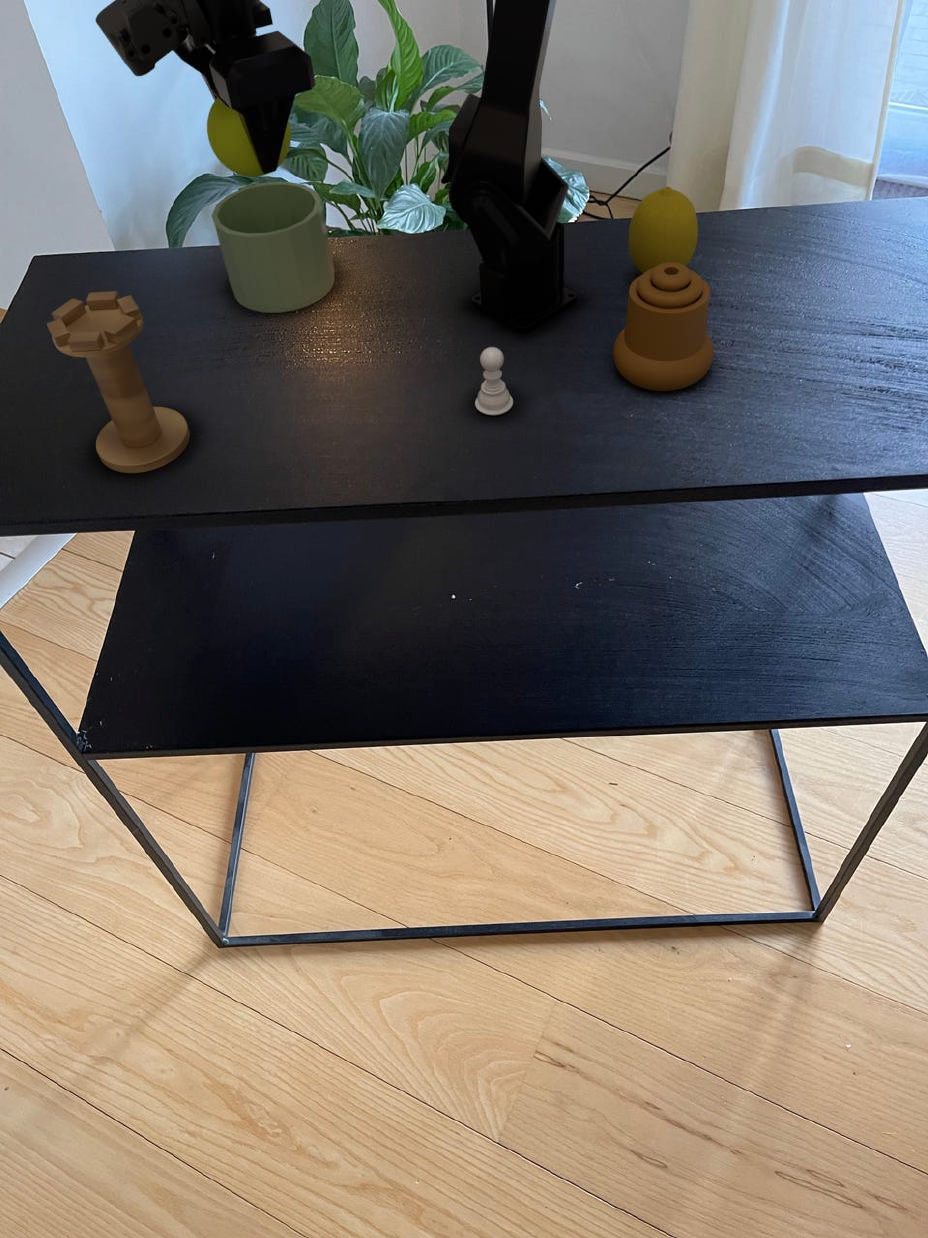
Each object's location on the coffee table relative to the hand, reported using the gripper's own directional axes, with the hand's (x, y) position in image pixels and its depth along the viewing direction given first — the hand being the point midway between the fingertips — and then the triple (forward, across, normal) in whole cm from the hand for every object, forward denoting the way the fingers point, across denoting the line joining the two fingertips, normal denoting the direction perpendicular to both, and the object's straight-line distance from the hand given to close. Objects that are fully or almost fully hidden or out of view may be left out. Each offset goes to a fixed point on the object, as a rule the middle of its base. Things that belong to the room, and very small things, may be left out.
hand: (255, 156), depth 78 cm
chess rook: (+11, +14, -17) cm, 25 cm away
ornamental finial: (+12, +28, +20) cm, 36 cm away
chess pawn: (+12, +25, +7) cm, 28 cm away
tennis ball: (-2, 0, 0) cm, 2 cm away
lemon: (+12, +18, +27) cm, 34 cm away
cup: (+11, 0, 0) cm, 11 cm away
